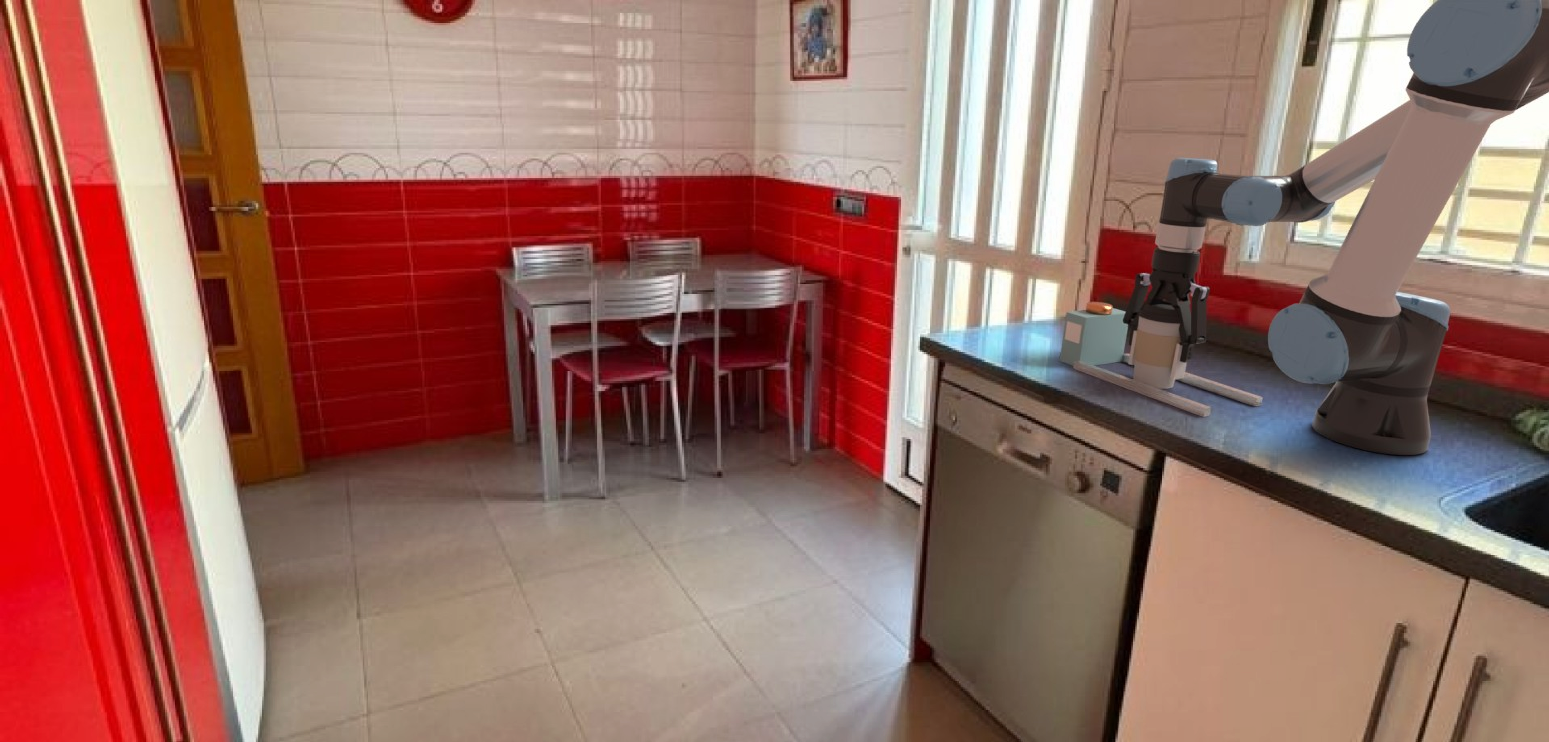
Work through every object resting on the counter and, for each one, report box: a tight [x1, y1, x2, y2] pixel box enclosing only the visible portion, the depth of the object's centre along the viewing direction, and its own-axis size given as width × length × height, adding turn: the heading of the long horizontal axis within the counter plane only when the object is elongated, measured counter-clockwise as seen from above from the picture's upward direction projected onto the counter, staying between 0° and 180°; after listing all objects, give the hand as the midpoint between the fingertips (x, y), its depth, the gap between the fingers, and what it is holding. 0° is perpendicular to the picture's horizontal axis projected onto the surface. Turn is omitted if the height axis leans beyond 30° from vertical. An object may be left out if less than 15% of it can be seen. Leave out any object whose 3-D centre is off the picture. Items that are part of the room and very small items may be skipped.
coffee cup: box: [1132, 299, 1181, 390], centre depth 153 cm, size 9×9×15 cm
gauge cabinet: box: [1059, 307, 1129, 366], centre depth 167 cm, size 5×12×10 cm, turn 117°
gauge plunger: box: [1085, 301, 1114, 315], centre depth 166 cm, size 5×5×6 cm
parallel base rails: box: [1072, 352, 1264, 418], centre depth 154 cm, size 28×15×2 cm, turn 27°
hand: (1155, 370), depth 155 cm, fingers closed on coffee cup, 9 cm apart
